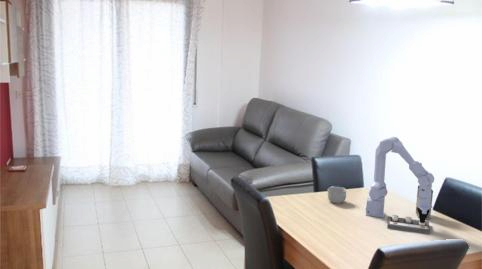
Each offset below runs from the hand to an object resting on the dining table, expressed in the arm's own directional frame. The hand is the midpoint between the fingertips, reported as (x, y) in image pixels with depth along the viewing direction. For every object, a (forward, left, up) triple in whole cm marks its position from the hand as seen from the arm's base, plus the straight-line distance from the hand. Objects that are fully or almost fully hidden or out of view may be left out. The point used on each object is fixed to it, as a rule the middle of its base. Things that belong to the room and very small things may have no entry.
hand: (422, 222), depth 220 cm
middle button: (-6, 0, -1) cm, 7 cm away
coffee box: (+1, +18, -3) cm, 18 cm away
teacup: (-47, +25, -3) cm, 53 cm away
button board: (-7, -1, -3) cm, 7 cm away
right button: (0, 0, -2) cm, 2 cm away
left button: (-13, 0, -1) cm, 13 cm away
